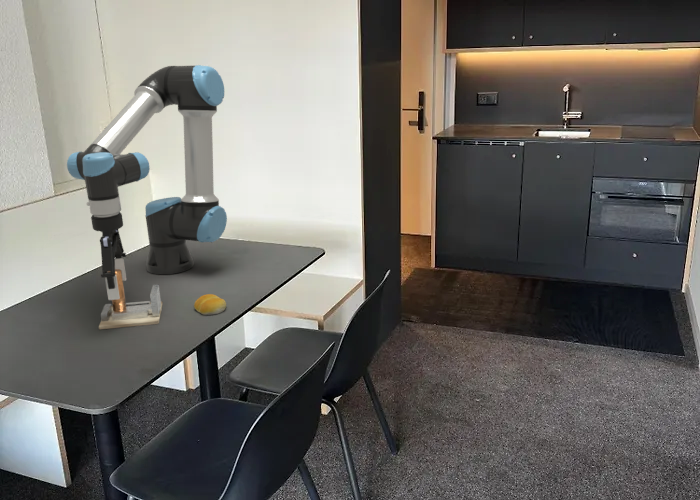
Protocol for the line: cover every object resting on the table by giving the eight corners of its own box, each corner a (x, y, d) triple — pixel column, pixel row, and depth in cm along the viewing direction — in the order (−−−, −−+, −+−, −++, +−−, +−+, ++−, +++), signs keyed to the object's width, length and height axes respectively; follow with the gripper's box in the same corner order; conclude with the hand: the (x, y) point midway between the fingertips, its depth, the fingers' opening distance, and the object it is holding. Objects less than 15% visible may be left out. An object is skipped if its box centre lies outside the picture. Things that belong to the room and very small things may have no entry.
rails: (106, 310, 177) (105, 304, 177) (150, 306, 179) (149, 300, 179) (101, 321, 170) (100, 314, 170) (147, 317, 172) (146, 310, 172)
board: (107, 309, 180) (107, 306, 180) (162, 304, 183) (162, 301, 183) (99, 329, 167) (98, 326, 167) (158, 323, 170) (158, 321, 170)
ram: (116, 308, 178) (110, 267, 174) (161, 304, 180) (156, 263, 176) (111, 320, 170) (105, 276, 167) (158, 315, 173) (153, 272, 169)
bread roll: (206, 318, 173) (205, 305, 172) (190, 309, 180) (189, 296, 179) (232, 310, 178) (231, 297, 177) (216, 301, 185) (215, 288, 184)
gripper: (99, 202, 177) (110, 274, 184) (81, 228, 154) (95, 309, 160) (127, 200, 178) (137, 272, 185) (114, 225, 155) (126, 306, 162)
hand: (117, 289), depth 173 cm, fingers open, 13 cm apart
